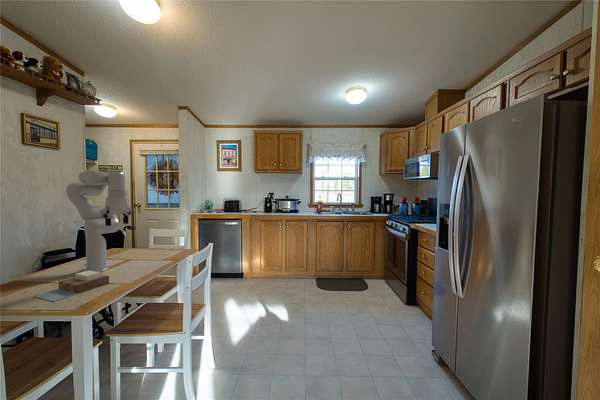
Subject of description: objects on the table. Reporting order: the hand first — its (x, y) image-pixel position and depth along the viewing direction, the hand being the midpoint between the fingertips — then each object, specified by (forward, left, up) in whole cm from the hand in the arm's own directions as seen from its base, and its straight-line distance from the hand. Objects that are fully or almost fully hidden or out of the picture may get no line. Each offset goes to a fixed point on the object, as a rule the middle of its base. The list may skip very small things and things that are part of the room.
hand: (117, 224), depth 138 cm
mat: (-1, -27, -30) cm, 40 cm away
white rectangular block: (-1, -14, -26) cm, 29 cm away
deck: (-1, -15, -30) cm, 33 cm away
